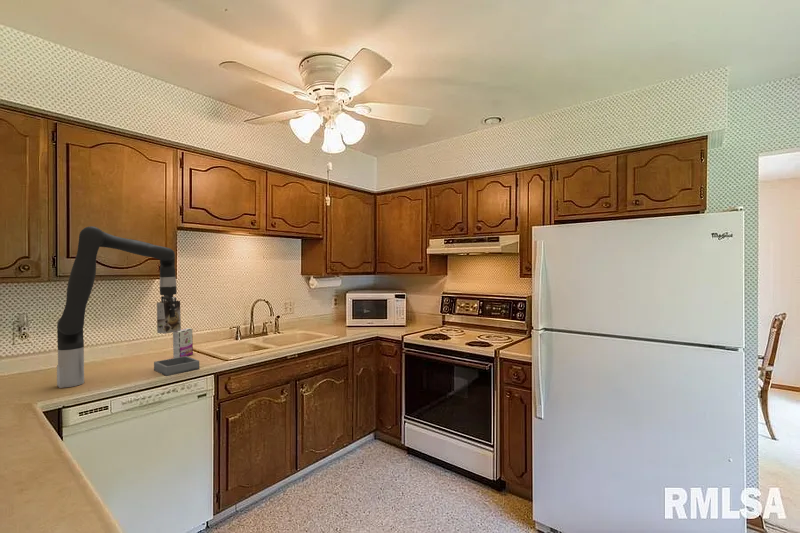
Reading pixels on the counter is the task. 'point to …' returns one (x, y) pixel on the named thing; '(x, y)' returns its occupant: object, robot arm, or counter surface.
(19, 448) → the counter surface
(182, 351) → the candy bar box
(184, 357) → the box
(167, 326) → the coffee box
